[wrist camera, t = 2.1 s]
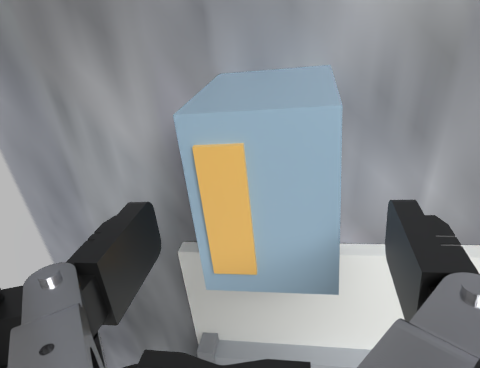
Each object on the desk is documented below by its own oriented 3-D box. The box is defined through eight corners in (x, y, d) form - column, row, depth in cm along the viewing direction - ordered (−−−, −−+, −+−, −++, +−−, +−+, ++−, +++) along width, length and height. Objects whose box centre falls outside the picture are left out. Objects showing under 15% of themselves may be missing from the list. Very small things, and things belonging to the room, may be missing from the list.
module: (219, 73, 17) (170, 117, 11) (330, 64, 16) (343, 107, 10) (235, 204, 20) (205, 293, 14) (329, 203, 19) (339, 298, 13)
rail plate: (182, 241, 22) (169, 269, 20) (480, 245, 19) (503, 278, 16) (218, 408, 29) (210, 442, 27) (438, 430, 26) (450, 471, 24)
